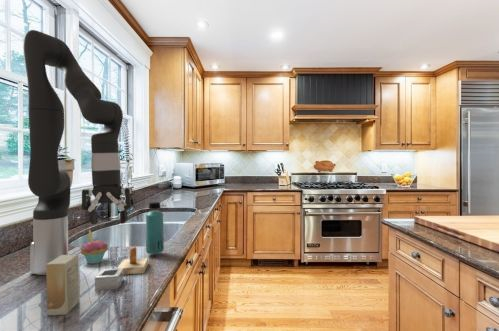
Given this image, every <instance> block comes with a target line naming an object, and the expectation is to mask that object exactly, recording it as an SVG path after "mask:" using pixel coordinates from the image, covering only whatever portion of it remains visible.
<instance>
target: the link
mask: <svg viewBox="0 0 499 331" xmlns="http://www.w3.org/2000/svg"><path fill="white" fill-rule="evenodd" d="M124 276H125V274H124V268H117V267H116V268H106V269H105V268H103V269H101V270H100V271H99V273H97V274H96V276H95V277H94V291H102V290H118V289H119V288H120V286H121V284H122V283H123V281H124V279H125V278H124Z"/></svg>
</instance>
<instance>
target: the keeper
mask: <svg viewBox="0 0 499 331" xmlns="http://www.w3.org/2000/svg"><path fill="white" fill-rule="evenodd" d="M148 264H149V258H147V257H145V258H137V246H133V247H132V246H131V247H130V248H129V258H128V259H122V261H121V262H120V264H119V265H118V266H117V267H116V268H124V275H134V274H135V275H136V274H138V275H139V274H144V273H145V272H146V269H147V267H148Z"/></svg>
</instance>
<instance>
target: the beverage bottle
mask: <svg viewBox="0 0 499 331" xmlns="http://www.w3.org/2000/svg"><path fill="white" fill-rule="evenodd" d="M160 208H161V202H159V201H153V202H149V203H148V209H151V210H150V211H148V212H147V213H146V214H145V223H146V224H145V227H146V229H145V231H146V232H145V247H146V248H145V252H146V254H148V255H149V254H150V255H155V254H160V253H162V252H164V249H165V248H164V247H165V238H164V213H163V212H162V211H161V210H155V209H160Z"/></svg>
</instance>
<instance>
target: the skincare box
mask: <svg viewBox="0 0 499 331" xmlns="http://www.w3.org/2000/svg"><path fill="white" fill-rule="evenodd" d="M79 273H80V271H79V254H68V255H60V256H59V257H57V258H55V259H54V260H52V261H51V262H49V263H48V264H46V315H47V316H65V315H67V314H68V313H69V312H70V311H71V310H72V309H73V308H74V307H75V306H76V305H77V304H78V303H79V302H80V282H79V281H80V279H79V278H80V275H79Z"/></svg>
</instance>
